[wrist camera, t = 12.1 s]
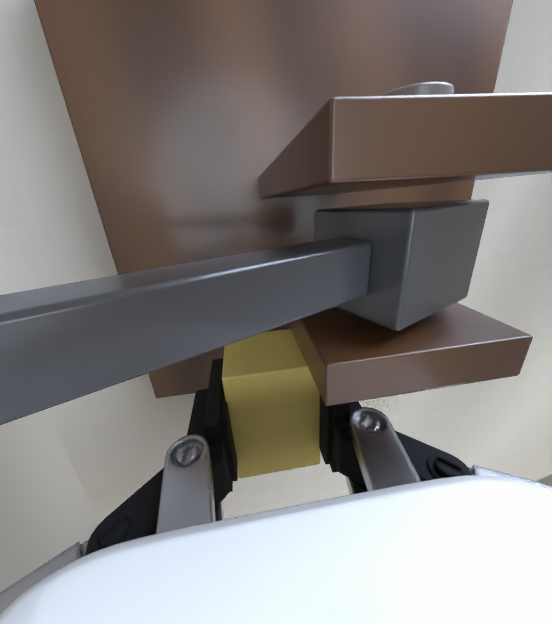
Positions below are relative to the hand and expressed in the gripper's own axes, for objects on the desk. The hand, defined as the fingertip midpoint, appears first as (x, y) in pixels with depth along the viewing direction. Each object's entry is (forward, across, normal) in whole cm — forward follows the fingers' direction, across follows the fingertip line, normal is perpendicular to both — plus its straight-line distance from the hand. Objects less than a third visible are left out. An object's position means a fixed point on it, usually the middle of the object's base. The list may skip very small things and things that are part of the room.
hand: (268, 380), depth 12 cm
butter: (0, 0, 0) cm, 0 cm away
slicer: (+6, -3, -6) cm, 9 cm away
